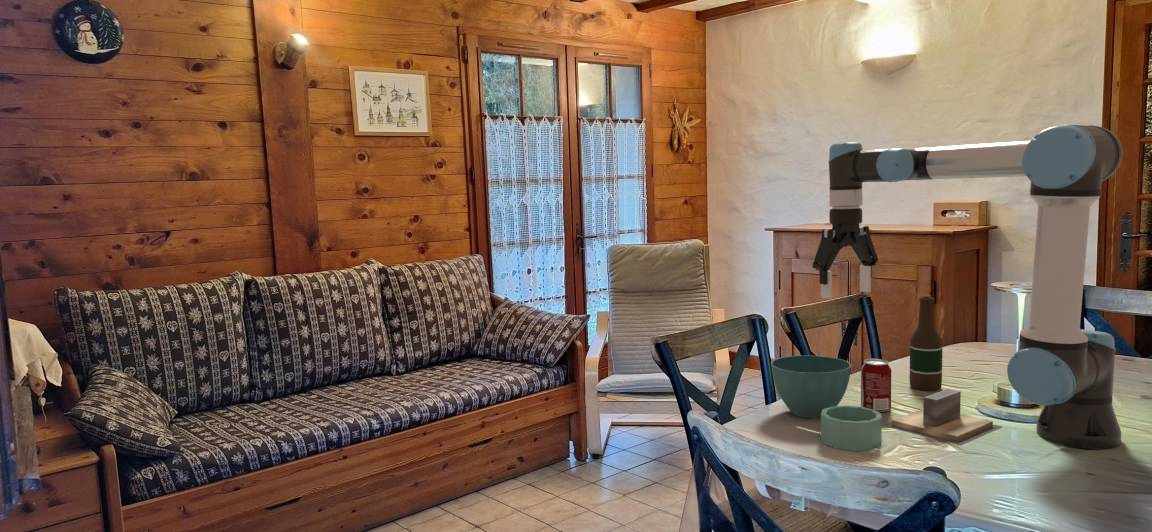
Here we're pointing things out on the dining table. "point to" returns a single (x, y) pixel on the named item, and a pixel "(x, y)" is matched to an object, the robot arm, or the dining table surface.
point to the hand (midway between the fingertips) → (846, 294)
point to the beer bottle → (926, 350)
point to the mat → (947, 439)
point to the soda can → (876, 385)
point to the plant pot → (810, 383)
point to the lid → (943, 418)
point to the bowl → (851, 428)
